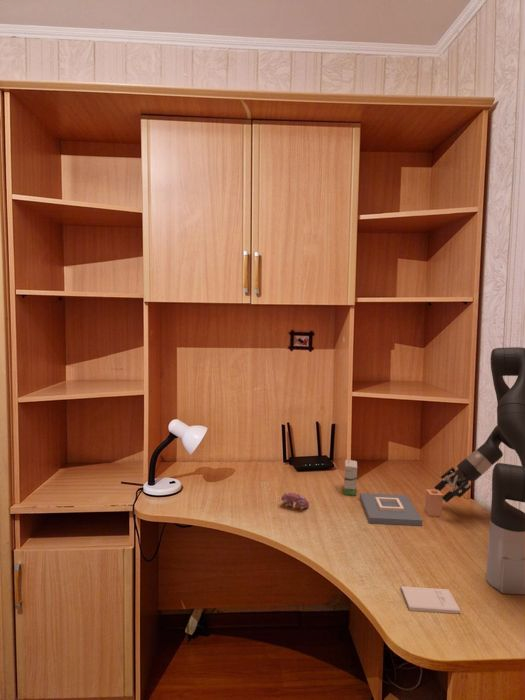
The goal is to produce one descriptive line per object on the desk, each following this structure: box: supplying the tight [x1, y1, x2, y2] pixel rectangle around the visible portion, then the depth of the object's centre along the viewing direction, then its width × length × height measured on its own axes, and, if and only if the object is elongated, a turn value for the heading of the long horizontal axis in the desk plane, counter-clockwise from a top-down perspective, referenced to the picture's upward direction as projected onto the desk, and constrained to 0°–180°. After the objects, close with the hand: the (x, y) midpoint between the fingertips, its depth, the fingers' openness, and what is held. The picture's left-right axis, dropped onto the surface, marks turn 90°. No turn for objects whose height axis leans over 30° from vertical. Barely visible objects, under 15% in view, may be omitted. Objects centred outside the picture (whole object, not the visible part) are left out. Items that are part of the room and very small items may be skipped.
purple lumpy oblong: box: [280, 491, 310, 510], centre depth 159 cm, size 10×5×7 cm, turn 62°
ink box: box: [343, 459, 358, 497], centre depth 174 cm, size 9×5×12 cm, turn 168°
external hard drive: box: [400, 585, 461, 615], centre depth 109 cm, size 2×8×12 cm
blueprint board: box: [359, 492, 423, 527], centre depth 158 cm, size 20×18×3 cm
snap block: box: [424, 488, 444, 517], centre depth 157 cm, size 4×4×9 cm
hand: (439, 494), depth 156 cm, fingers open, 8 cm apart
